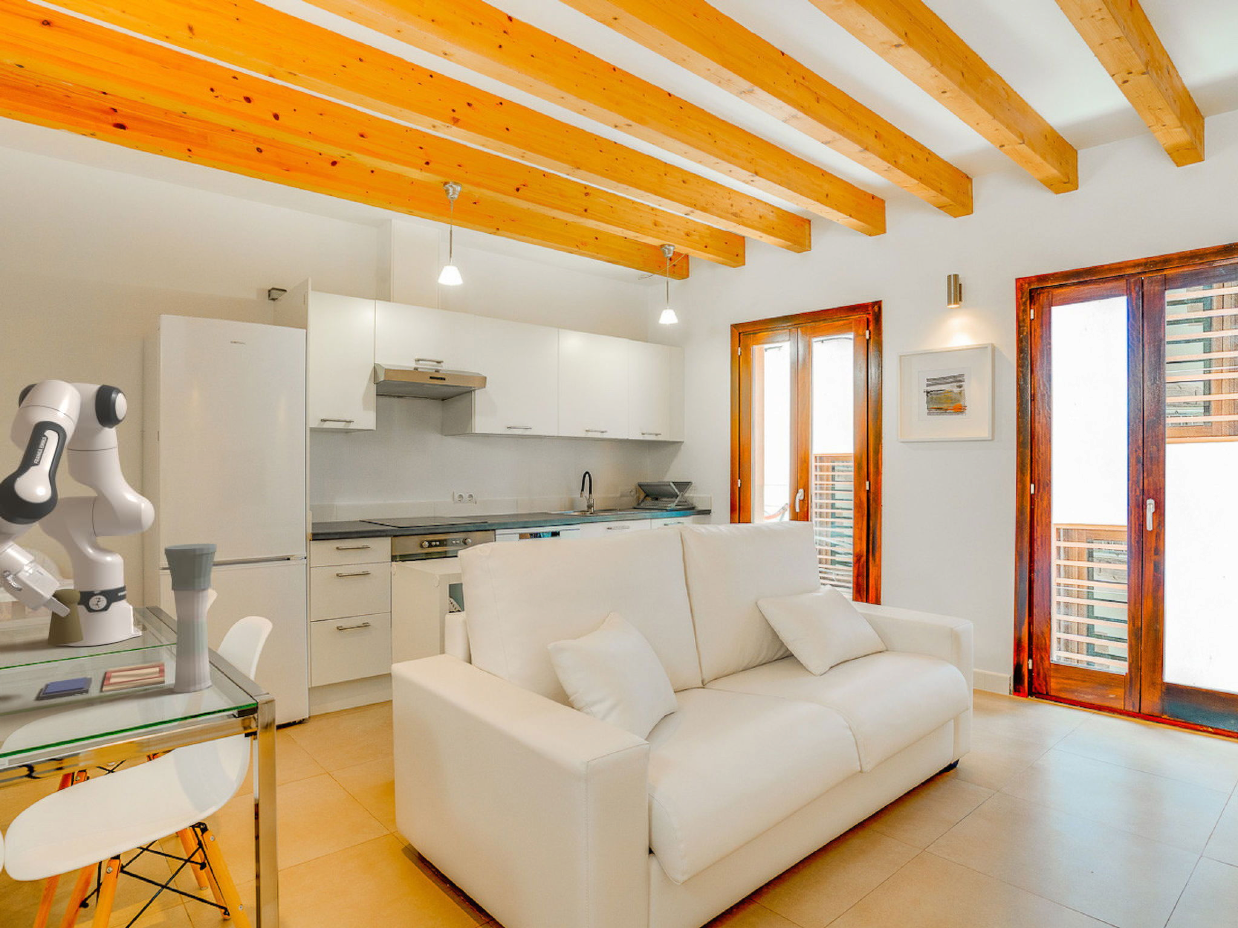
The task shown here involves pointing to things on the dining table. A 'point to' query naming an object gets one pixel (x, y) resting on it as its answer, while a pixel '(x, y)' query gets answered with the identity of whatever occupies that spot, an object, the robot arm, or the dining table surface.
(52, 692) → the ink pad
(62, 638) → the brown tapered round-topped piece
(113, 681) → the marked board
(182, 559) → the container
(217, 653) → the dining table surface
